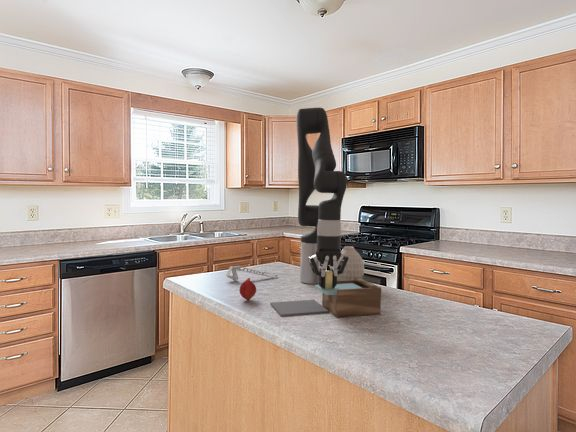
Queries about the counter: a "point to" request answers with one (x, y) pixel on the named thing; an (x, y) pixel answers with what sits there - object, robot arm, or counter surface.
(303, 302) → the mat
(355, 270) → the vase
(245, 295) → the red oval lump
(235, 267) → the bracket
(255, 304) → the counter surface
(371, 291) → the box
